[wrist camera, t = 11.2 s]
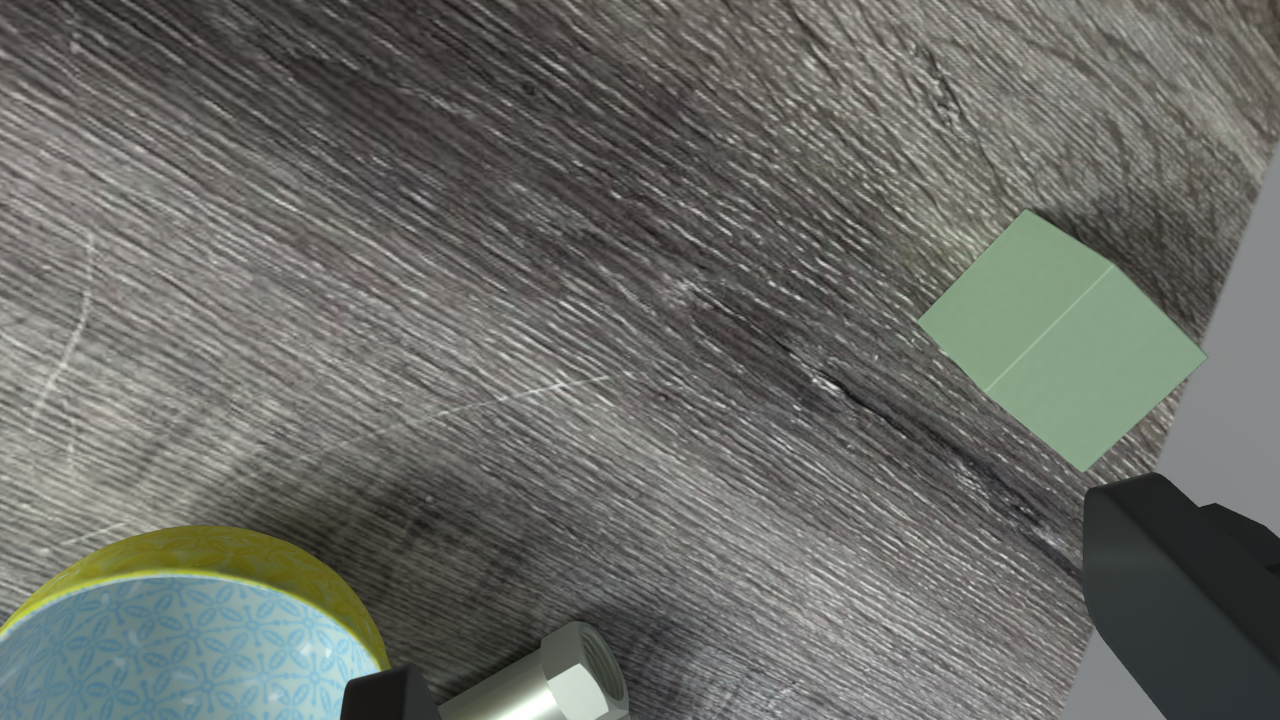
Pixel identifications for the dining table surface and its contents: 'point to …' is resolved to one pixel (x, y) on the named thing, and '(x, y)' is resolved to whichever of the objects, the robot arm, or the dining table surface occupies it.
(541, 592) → the dining table surface
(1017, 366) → the block
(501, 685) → the pipe fitting
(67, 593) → the bowl
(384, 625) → the dining table surface
